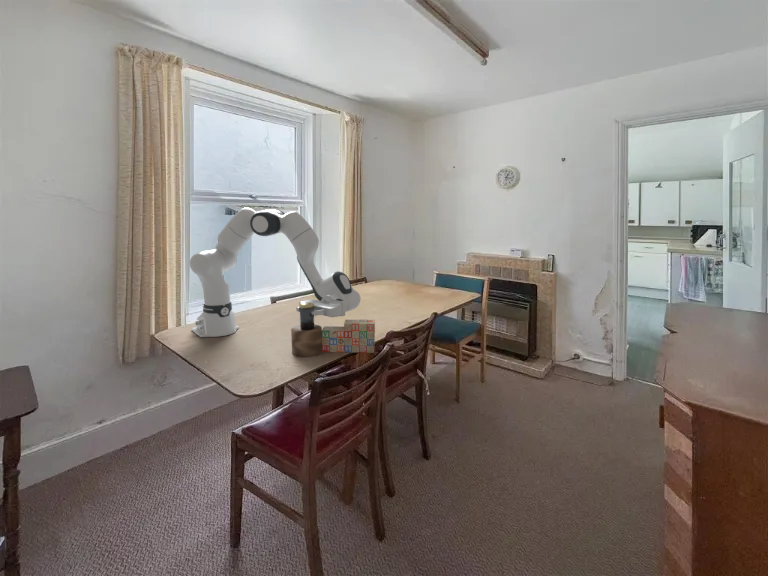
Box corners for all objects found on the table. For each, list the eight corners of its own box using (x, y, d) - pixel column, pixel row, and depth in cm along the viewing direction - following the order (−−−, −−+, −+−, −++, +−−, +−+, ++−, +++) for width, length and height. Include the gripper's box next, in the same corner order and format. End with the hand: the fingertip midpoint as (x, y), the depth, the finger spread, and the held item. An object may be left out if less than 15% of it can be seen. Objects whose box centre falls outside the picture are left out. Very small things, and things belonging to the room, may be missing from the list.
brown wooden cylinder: (285, 352, 154) (284, 328, 153) (308, 345, 164) (308, 322, 162) (305, 359, 147) (304, 334, 145) (328, 351, 156) (327, 327, 155)
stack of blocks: (321, 352, 155) (321, 323, 153) (324, 347, 161) (323, 318, 159) (374, 352, 155) (374, 323, 153) (374, 347, 161) (375, 319, 159)
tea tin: (297, 328, 153) (296, 304, 151) (308, 325, 158) (307, 301, 156) (306, 331, 150) (305, 306, 148) (317, 328, 154) (317, 303, 152)
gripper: (313, 294, 168) (288, 300, 157) (347, 301, 156) (322, 307, 145) (314, 308, 169) (288, 315, 158) (348, 316, 157) (322, 323, 146)
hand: (305, 311), depth 152 cm, fingers open, 8 cm apart
